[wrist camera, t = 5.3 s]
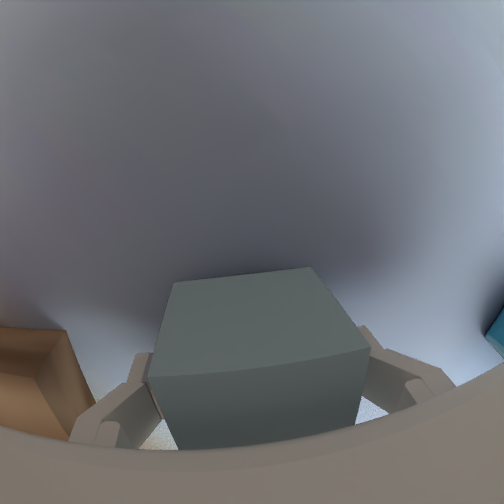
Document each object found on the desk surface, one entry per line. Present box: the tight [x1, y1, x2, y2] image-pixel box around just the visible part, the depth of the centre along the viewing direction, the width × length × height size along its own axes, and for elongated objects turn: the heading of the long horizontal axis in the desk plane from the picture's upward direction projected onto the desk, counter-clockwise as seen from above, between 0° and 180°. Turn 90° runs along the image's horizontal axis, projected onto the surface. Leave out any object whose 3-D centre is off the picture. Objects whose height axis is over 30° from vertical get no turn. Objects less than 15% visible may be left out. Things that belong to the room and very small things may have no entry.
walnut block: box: [0, 327, 96, 441], centre depth 11 cm, size 10×10×4 cm
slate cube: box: [147, 267, 371, 450], centre depth 9 cm, size 5×5×5 cm
